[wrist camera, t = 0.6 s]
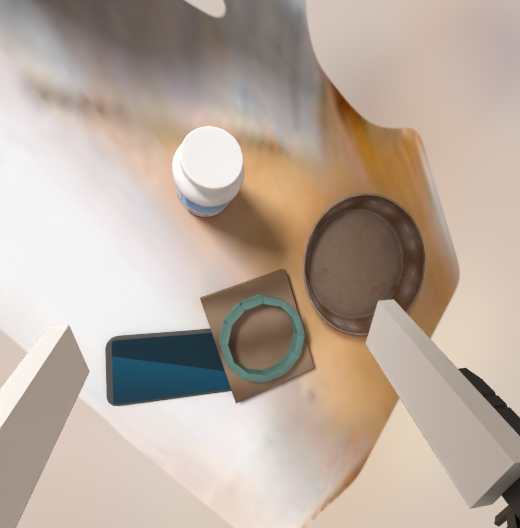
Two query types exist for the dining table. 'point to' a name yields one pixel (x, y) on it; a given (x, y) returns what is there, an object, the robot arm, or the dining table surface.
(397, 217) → the plant saucer
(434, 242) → the dining table surface
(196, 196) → the pill bottle
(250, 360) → the holder board
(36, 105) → the dining table surface
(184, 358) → the smartphone
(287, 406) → the dining table surface
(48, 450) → the robot arm
